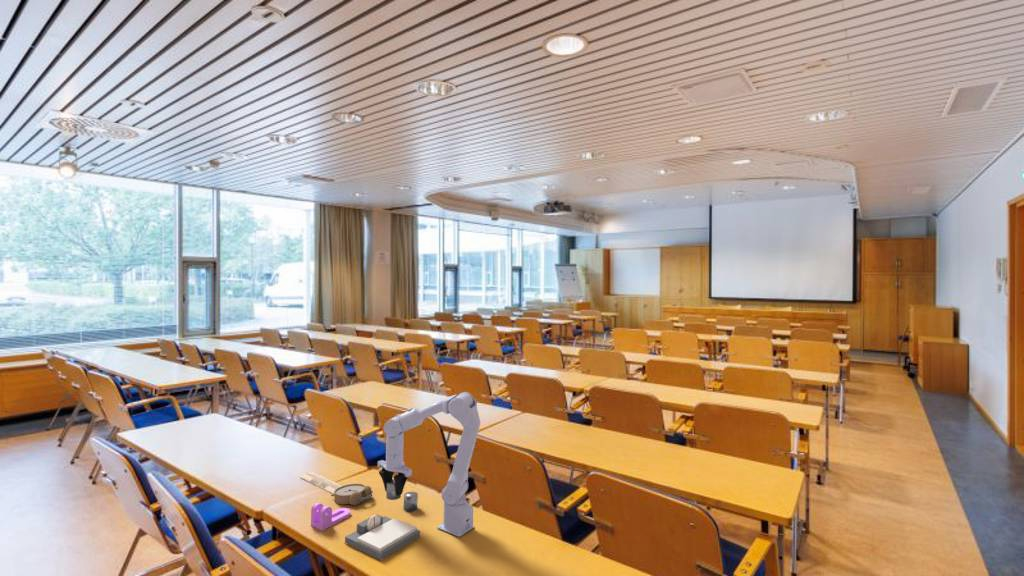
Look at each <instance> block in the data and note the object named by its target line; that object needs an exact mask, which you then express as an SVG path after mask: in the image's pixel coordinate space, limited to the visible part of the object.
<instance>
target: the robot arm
mask: <svg viewBox="0 0 1024 576" xmlns="http://www.w3.org/2000/svg"><path fill="white" fill-rule="evenodd" d="M477 404H478V403H477V400H476V398H474V396H473V395H472V394H471V393H470V392H468V391H462V392H460V393H459V394H453V395H450V396H448V397H445V398H442V399H440V400H438V401H436V402H434V403H432V404H430V405H428V406H426V407H424V408H421V409H420V408H418V407H414V408H413V407H410V408H408V409H407V411H406V412H405V411H404V412H403V413H398V414H395V416H394V417H392V418H390V419H388V420H387V421H386V422H384V425H383V432H384V434H385V435H386V436H385V439H386V443H385V460H383V459H381V460H378V461H377V468H379V469H380V468H381V470H379V471H378V474H379V476H380V478H381V480H382V483H383V486H384V487H383V488H384V491H385V492H387V481H389V480H392V479H394V480H395V485H396V495H397V496H399V495H401V496H402V495H403V492H404V488H405V485H406V483H407V480H408V479H409V477H411V476H412V475H413V474H412V472H413V471H412V469H411V468H409V467H407V466H406V465H405V464H406V463H405V461H404V440H405V439H404V436H405V435H404V432H406V431H409V430H411V429H413V428H415V427H418V426H420V425H423V422H424V420H425V419H426V418H429V417H432V416H434V415H436V414H439V413H444V414H446V415H451V416H452V417H453V418H454V419H455V420H456V421H458V422H459V423H460V425H461V426H462V433H461V435H460V440H459V445H458V447H457V452H456V456H455V458H454V463H453V467H452V471H451V473H450V475H449V478H448V480H447V483H446V485H445V487H443V488H442V490H441V498H442V501H443V523H441V524H440V525H438V526H437V529H439V530H441V531H443V532H446V533H449V534H451V535H454V536H456V537H458V538H460V537H462V536H464V535H465V534H466V533H468V532H469V531H471V530H472V529H474V528H475V525H474V508H473V505H471V504H469V502H467V496H466V493H467V491H468V489H469V481H468V480H469V472H468V471H469V468H470V464H471V462H472V457H473V453H474V449H475V445H476V442H477V438H478V435H479V434H478V433H479V430H480V426H481V419H480V415H479V410H478V405H477ZM394 473H396V474H395V475H394Z"/></svg>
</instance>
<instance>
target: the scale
mask: <svg viewBox="0 0 1024 576" xmlns="http://www.w3.org/2000/svg"><path fill="white" fill-rule="evenodd" d="M420 535H421V531H420V530H419V529H417V526H415V525H412V524H410V523H407V522H404V521H402V520H400V519H398V518H396V517H394V518H390V517H387V516H382V515H380V514H377V513H376V514H374V515H372V516H370V517H368V518H366V519H364V520H362V521H360V522H359V523H357V524H356V530H355V531H352V533H350V534H347V535H345V537H344V544H346V543H347V544H346V545H348V544H349V545H348V546H350V545H351V546H350V547H352V546H353V548H354V549H356V550H359V551H360V552H363V553H364V554H366V555H369V556H370V557H373V558H374V559H377V560H379V561H383V560H384V559H386V558H388V557H389V556H391V555H392V554H394V553H395V552H397V551H398V550H401V549H403V548H404V547H405V546H407V545H409V544H411V543H413V542H414V541H415V540H417V539H419V538H420V537H421V536H420Z"/></svg>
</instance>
